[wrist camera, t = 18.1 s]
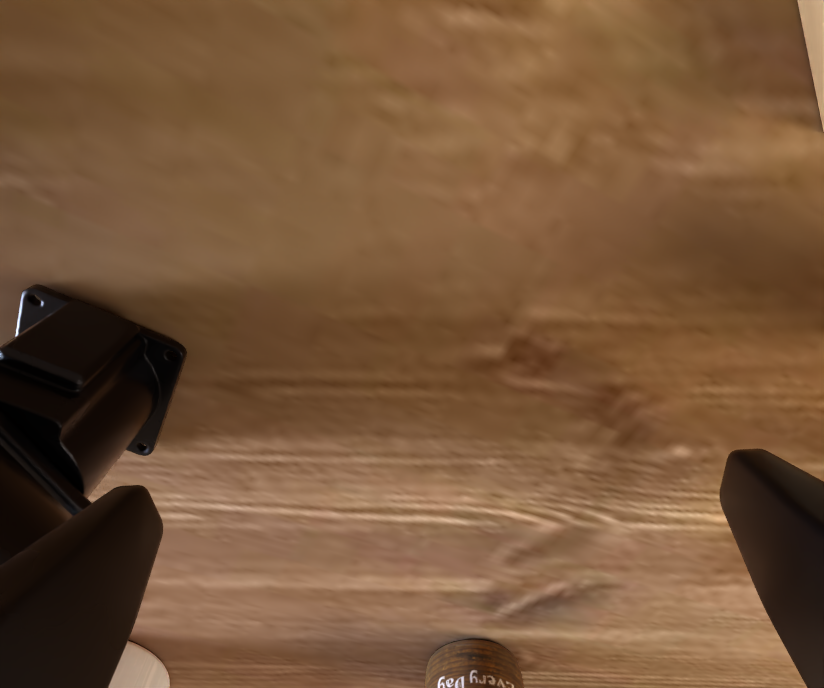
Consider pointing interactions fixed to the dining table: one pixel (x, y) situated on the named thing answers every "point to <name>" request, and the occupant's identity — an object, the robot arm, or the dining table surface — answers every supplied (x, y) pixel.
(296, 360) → the dining table surface
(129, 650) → the ramekin
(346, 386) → the dining table surface
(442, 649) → the utensil holder
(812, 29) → the crate
